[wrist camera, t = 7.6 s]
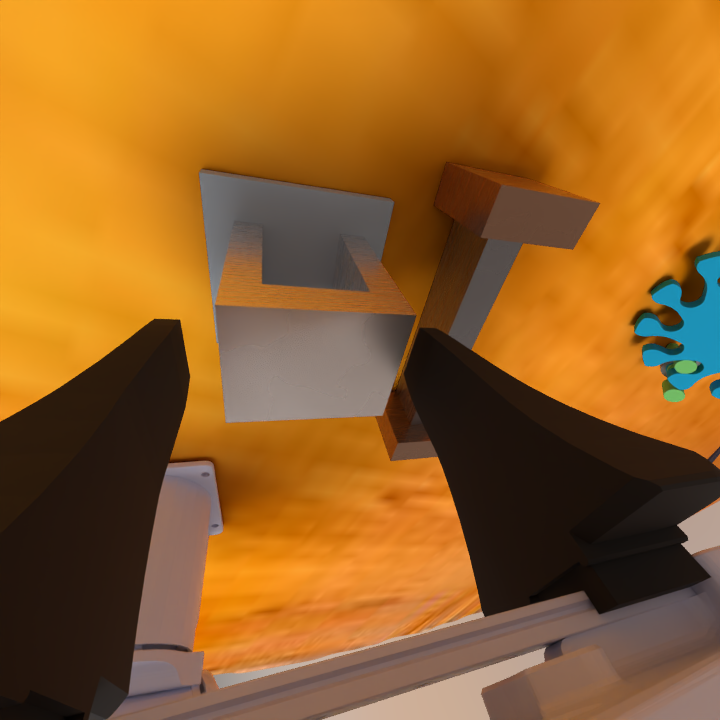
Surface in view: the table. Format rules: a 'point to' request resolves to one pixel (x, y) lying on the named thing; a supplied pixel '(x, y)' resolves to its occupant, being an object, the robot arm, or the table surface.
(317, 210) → the mat
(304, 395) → the bracket
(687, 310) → the blue lobed piece
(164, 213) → the table surface
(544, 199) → the rail
